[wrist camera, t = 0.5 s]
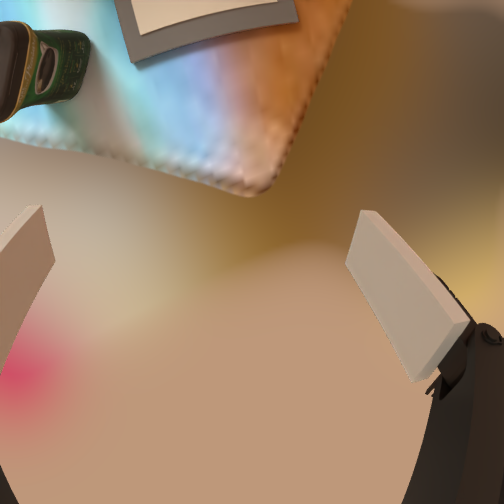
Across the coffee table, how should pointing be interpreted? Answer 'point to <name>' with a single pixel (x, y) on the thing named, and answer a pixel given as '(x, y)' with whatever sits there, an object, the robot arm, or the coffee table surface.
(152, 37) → the grey square frame
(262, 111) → the coffee table surface
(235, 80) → the coffee table surface
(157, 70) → the coffee table surface
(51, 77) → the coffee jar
